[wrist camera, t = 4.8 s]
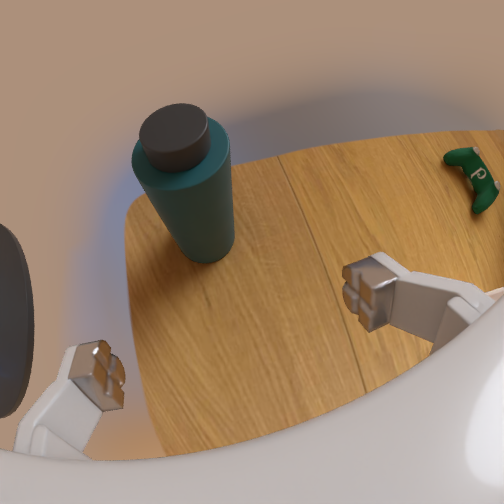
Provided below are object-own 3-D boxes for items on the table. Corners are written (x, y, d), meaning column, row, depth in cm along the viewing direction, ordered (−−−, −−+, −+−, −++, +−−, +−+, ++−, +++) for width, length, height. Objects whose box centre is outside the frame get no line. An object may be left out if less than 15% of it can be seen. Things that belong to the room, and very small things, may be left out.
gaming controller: (473, 218, 28) (502, 198, 25) (477, 215, 25) (508, 194, 22) (441, 162, 30) (469, 144, 27) (441, 154, 28) (471, 134, 24)
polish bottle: (182, 268, 23) (117, 182, 10) (175, 216, 24) (124, 105, 11) (239, 257, 23) (238, 156, 10) (228, 205, 25) (220, 84, 12)
